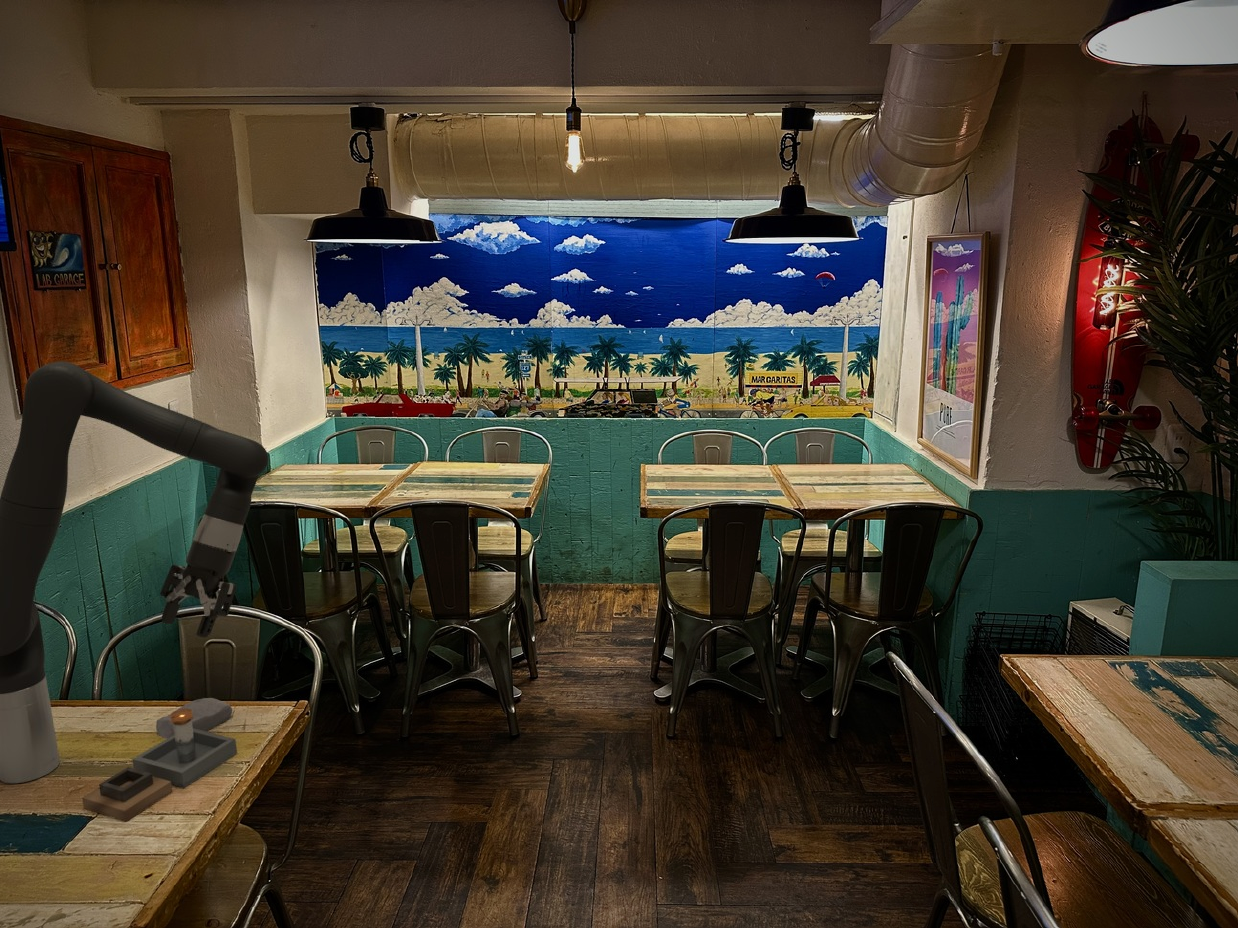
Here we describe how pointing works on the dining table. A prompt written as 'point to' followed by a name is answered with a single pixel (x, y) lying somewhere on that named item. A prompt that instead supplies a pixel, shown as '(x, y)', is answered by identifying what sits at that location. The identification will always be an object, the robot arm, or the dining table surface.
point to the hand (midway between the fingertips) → (184, 630)
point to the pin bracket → (127, 794)
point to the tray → (208, 757)
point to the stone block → (198, 716)
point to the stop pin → (184, 735)
